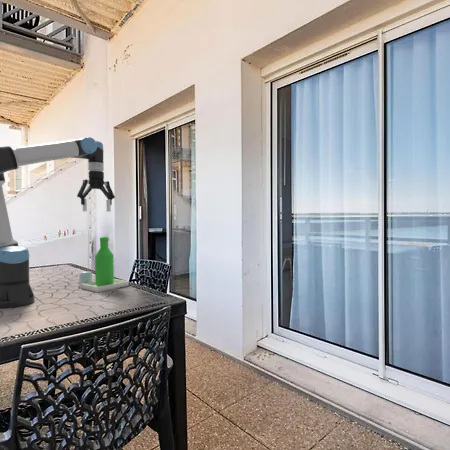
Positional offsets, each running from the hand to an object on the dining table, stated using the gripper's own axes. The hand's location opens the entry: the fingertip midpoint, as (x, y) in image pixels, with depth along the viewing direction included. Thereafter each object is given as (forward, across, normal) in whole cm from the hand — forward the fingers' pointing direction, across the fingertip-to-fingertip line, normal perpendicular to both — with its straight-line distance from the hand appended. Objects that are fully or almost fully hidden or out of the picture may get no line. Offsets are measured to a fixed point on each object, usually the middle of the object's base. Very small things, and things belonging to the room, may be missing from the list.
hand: (97, 211), depth 172 cm
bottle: (+38, -2, -9) cm, 40 cm away
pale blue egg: (+39, -6, +3) cm, 40 cm away
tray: (+39, -2, -9) cm, 40 cm away
